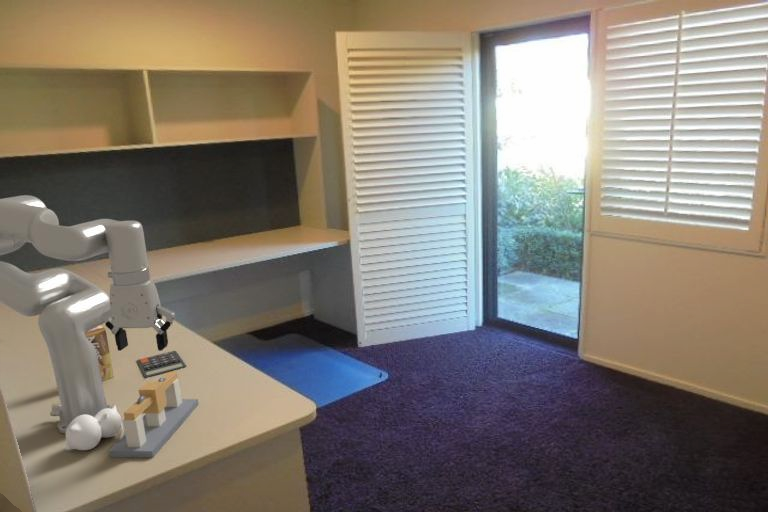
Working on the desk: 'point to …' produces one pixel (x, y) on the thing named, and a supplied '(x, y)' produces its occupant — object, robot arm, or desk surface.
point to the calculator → (160, 364)
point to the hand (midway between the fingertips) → (142, 348)
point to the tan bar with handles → (151, 397)
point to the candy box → (101, 350)
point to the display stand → (154, 426)
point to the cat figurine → (93, 429)
